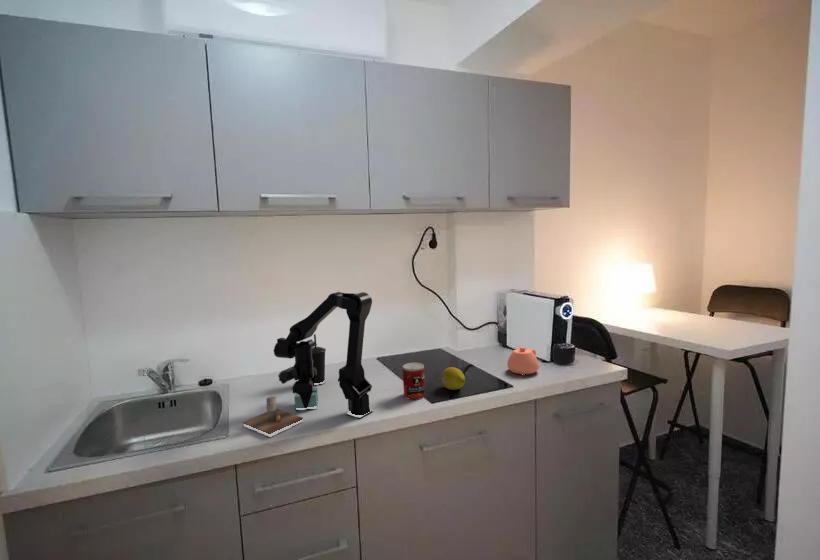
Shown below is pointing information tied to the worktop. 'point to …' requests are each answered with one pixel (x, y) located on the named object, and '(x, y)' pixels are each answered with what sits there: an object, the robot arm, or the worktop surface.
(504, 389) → the worktop surface
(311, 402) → the collar
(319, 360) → the drinking cup
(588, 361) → the worktop surface
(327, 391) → the worktop surface
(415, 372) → the canned food
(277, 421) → the board
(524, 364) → the orange teapot
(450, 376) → the lemon
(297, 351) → the robot arm
